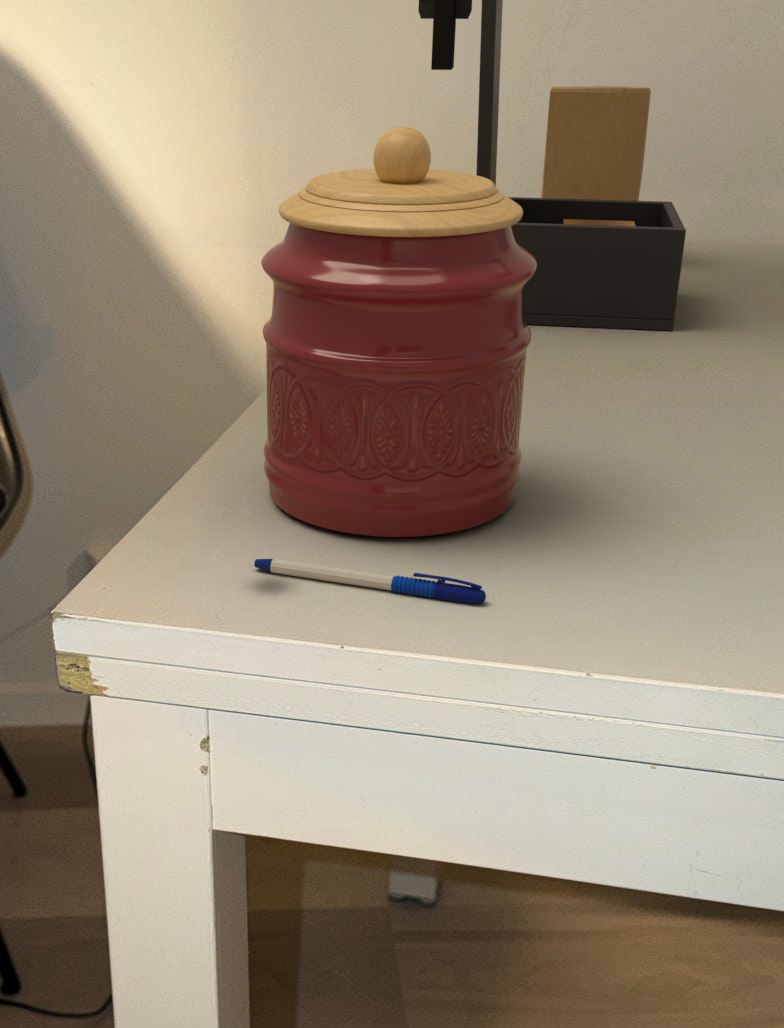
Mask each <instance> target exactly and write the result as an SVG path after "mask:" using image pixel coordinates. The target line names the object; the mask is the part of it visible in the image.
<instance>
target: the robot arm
mask: <svg viewBox="0 0 784 1028" xmlns="http://www.w3.org/2000/svg"><path fill="white" fill-rule="evenodd" d="M472 11H473V0H418V14H419V17H420V19H421V20H423V19H424V20H432V42H431V43H432V45H431V65H430V66H431V67H430V70H432V71H452V70H453V69H454V68H455V47H456V46H455V45H456V28H457V26H456V25H457V20H469V19H470V16H471V13H472Z"/></svg>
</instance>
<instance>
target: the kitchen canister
mask: <svg viewBox="0 0 784 1028" xmlns="http://www.w3.org/2000/svg"><path fill="white" fill-rule="evenodd" d="M429 144H430V143H429V142H428V140H427V138H426V136H425V135H424V134H423V133H422V132H421V131H419V130H418V129H416V128H413V127H410V126H409V127H407V126H397V127H392V128H390V129H388V130H386V131H384V132H383V134H382V135H381V136H380V137H379V138H378V140H377V142H376V144H375V146H374V151H373V161H372V162H373V167H374V168H364V169H363V168H361V169H351V170H350V169H349V170H340V171H334V172H328V173H323V174H319V175H316V176H314V177H312V178H311V179H310V180H309V181H308V183H307V184H306V186H305V187H303V188H302V189H301V190H300V191H298V192H296V193H294V194H293V195H292V196H289V197H288V198H286V199H285V200H284V201H283V202H281V203H280V205H279V206H278V214H279V215H280V217H281V218H282V219H283V220H284V221H286V222H288V223H289V224H288V227H287V229H286V232H285V235H284V237H283V239H282V240H280V241H279V242H277V243H275V244H274V245H273V246H271V247H270V248H268V249H267V250H266V251H265V253H264V254H263V255H262V257H261V267H262V269H263V271H264V272H265V273H266V275H267V276H268V277H269V278H270V280H271V281H272V285H273V292H272V307H271V315H270V317H269V318H268V319H267V320H266V321H265V323H264V325H263V328H262V336H263V339H264V341H265V348H266V350H265V351H266V353H265V355H266V357H265V361H266V424H267V425H266V432H267V433H266V440H265V443H264V447H263V455H264V465H263V467H264V469H263V470H264V473H265V476H266V479H267V481H268V487H269V495H270V497H271V499H272V501H273V502H274V504H276V506H278V508H280V509H281V510H283V511H284V512H285V513H286V514H288V515H290V516H292V517H293V518H295V519H297V520H299V521H301V522H304V523H307V524H309V525H313V526H316V527H319V528H323V529H325V530H330V531H333V532H334V531H335V532H339V533H345V534H350V535H359V536H367V537H368V536H369V537H379V538H416V537H417V538H419V537H429V536H430V537H431V536H438V535H445V534H450V533H451V534H452V533H456V532H461V531H466V530H468V529H472V528H475V527H478V526H481V525H483V524H486V523H488V522H490V521H492V520H494V519H495V518H496V517H498V516H500V515H502V514H503V513H504V512H505V511H506V510H507V509H508V508H509V507H510V506H511V504H512V502H513V499H514V492H515V488H516V486H517V484H518V482H519V480H520V476H521V466H520V465H521V462H522V457H523V455H522V450H521V447H520V434H521V422H522V409H523V398H524V397H523V396H524V385H525V373H526V362H527V361H526V360H527V359H526V358H527V349H528V347H529V345H530V343H531V341H532V333H531V329H530V328H529V327H530V326H528V325H526V324H525V323H524V322H523V288H524V285H525V284H526V283H527V282H528V281H529V280H530V279H531V278H532V276H533V275H534V274H535V272H536V270H537V262H536V260H535V258H534V257H533V255H532V254H530V253H529V252H528V251H527V250H526V249H524V248H523V247H522V246H520V245H519V244H517V243H516V241H515V238H514V235H513V231H512V228H511V226H512V225H514V224H516V223H517V222H519V221H520V220H521V218H522V216H523V209H522V208H521V206H520V205H518V204H517V203H516V202H514V201H513V200H511V199H510V198H508V197H509V196H507V195H505V194H504V193H503V192H501V191H500V190H499V189H498V188H497V185H496V186H495V185H494V183H493V182H492V181H491V180H489V179H487V178H484V177H481V176H477V175H476V174H471V173H466V172H460V171H451V170H444V169H443V170H441V169H430V168H431V162H432V153H431V147H430V145H429Z"/></svg>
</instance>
